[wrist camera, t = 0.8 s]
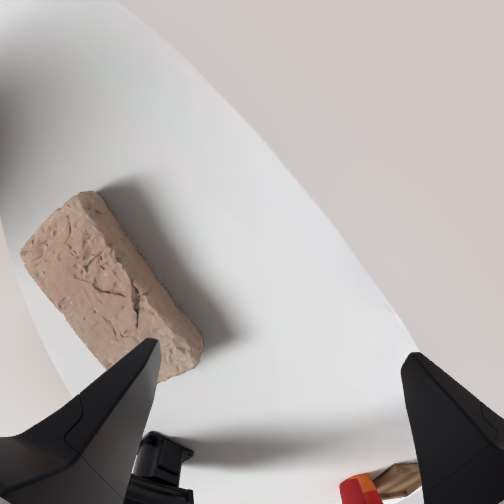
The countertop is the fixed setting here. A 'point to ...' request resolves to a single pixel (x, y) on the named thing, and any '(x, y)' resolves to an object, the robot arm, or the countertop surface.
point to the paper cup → (359, 490)
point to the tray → (398, 481)
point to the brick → (108, 287)
